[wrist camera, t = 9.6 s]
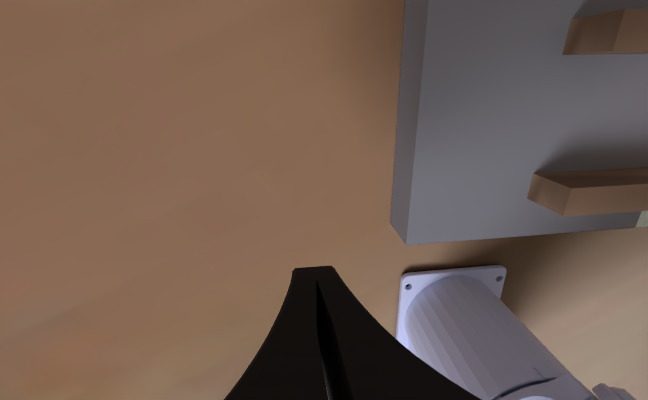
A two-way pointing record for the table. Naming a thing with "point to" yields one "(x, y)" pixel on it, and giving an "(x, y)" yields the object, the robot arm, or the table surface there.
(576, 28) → the tunnel walls
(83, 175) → the table surface
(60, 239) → the table surface
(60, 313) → the table surface
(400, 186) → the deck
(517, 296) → the table surface
